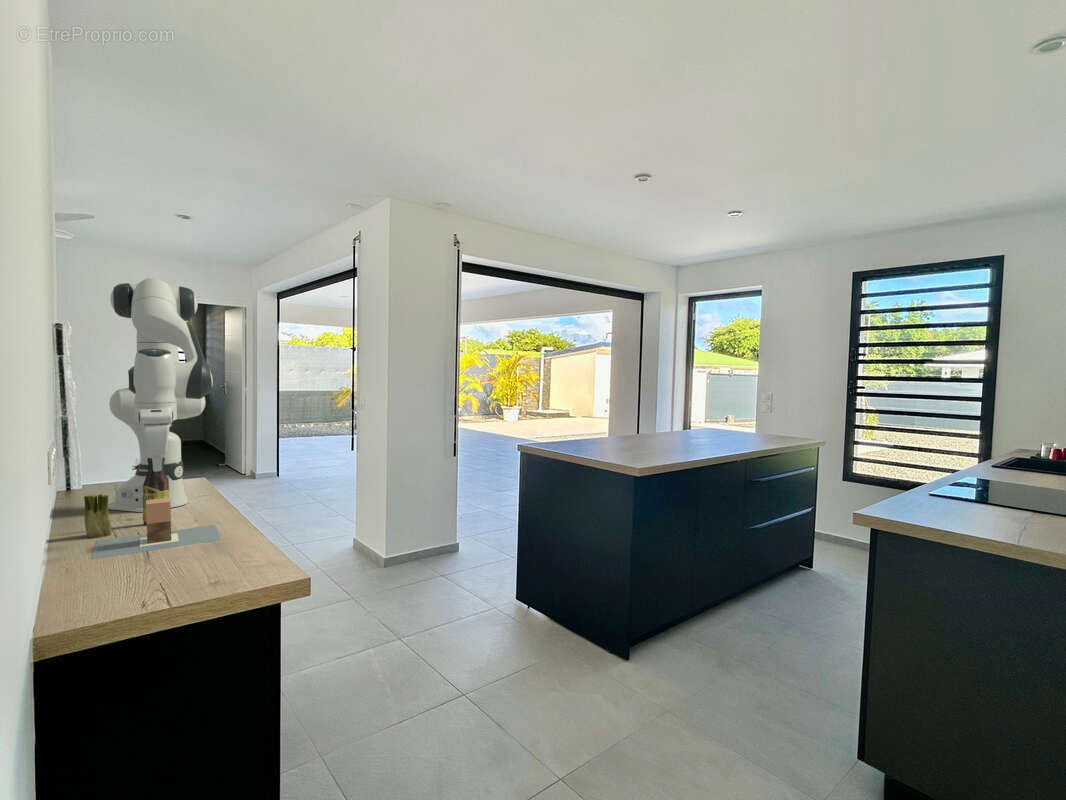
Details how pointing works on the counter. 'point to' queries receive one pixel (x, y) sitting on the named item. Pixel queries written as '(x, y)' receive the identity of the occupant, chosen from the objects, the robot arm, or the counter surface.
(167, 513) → the terracotta block
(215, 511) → the counter surface
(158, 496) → the sauce bottle
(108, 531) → the fennel bulb
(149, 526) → the walnut block
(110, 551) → the build board
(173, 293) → the robot arm
